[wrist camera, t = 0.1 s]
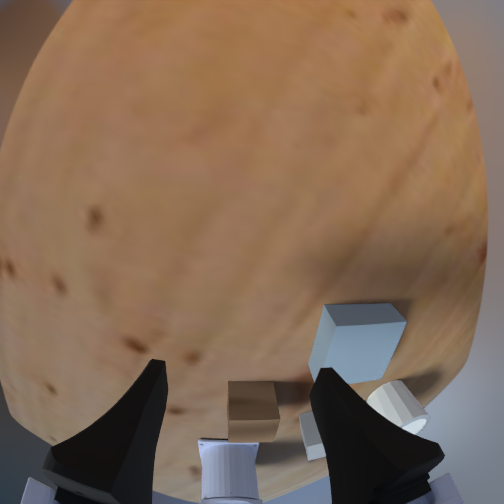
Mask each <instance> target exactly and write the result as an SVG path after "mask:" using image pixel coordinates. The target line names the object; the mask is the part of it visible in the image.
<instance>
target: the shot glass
mask: <svg viewBox="0 0 504 504" xmlns="http://www.w3.org/2000/svg"><path fill="white" fill-rule="evenodd" d="M366 402H367V403H368V404H369V405H370V406H371V407H372V408H373V409H374V410H376V411H377V412H378V413H380V414H381V415H382V416H384V417H385V418H386V419H388V420H389V421H391V422H392V423H394V424H396V425H397V426H399V427H401V428H402V429H404V430H406V431H408V432H410V433H412V434H414V435H416V434H417V433H419V432H420V431H421V430H422V429H423V428H424V427H425V426H426V425H427V423H428V422H429V420H430V416H429V415H428V413H427V412H426V411H425V409H424V408H423V407H422V406H421V404H420V403H419V402H418V401H417V399H416V398H415V397H414V396H413V394H412V393H411V392H410V391H409V389H408V388H407V387H406V386H405V385H404V383H403V382H402V381H401V380H394V381H390V382H387V383H385V384H383V385H381V386H380V387H379V388H377V389H376V390H375V391H374V392H373V393H372V394H371V395H370V396H369V397H368V399H367V401H366Z"/></svg>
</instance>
